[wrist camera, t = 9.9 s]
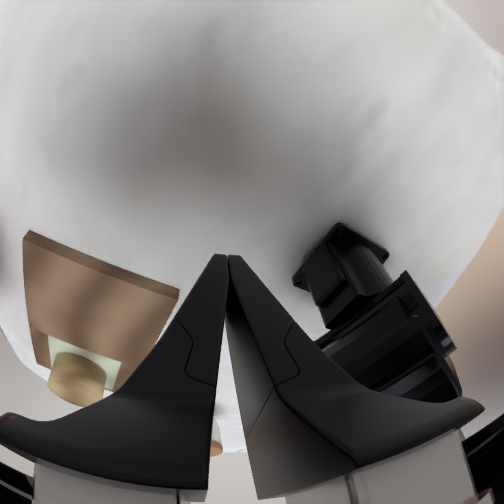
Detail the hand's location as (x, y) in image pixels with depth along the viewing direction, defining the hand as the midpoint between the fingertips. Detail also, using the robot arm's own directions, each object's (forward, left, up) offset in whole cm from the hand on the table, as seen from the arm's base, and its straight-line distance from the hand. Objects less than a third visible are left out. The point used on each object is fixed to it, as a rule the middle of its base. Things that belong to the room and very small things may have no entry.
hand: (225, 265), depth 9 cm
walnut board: (+5, +22, -10) cm, 24 cm away
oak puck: (+6, +28, -8) cm, 30 cm away
